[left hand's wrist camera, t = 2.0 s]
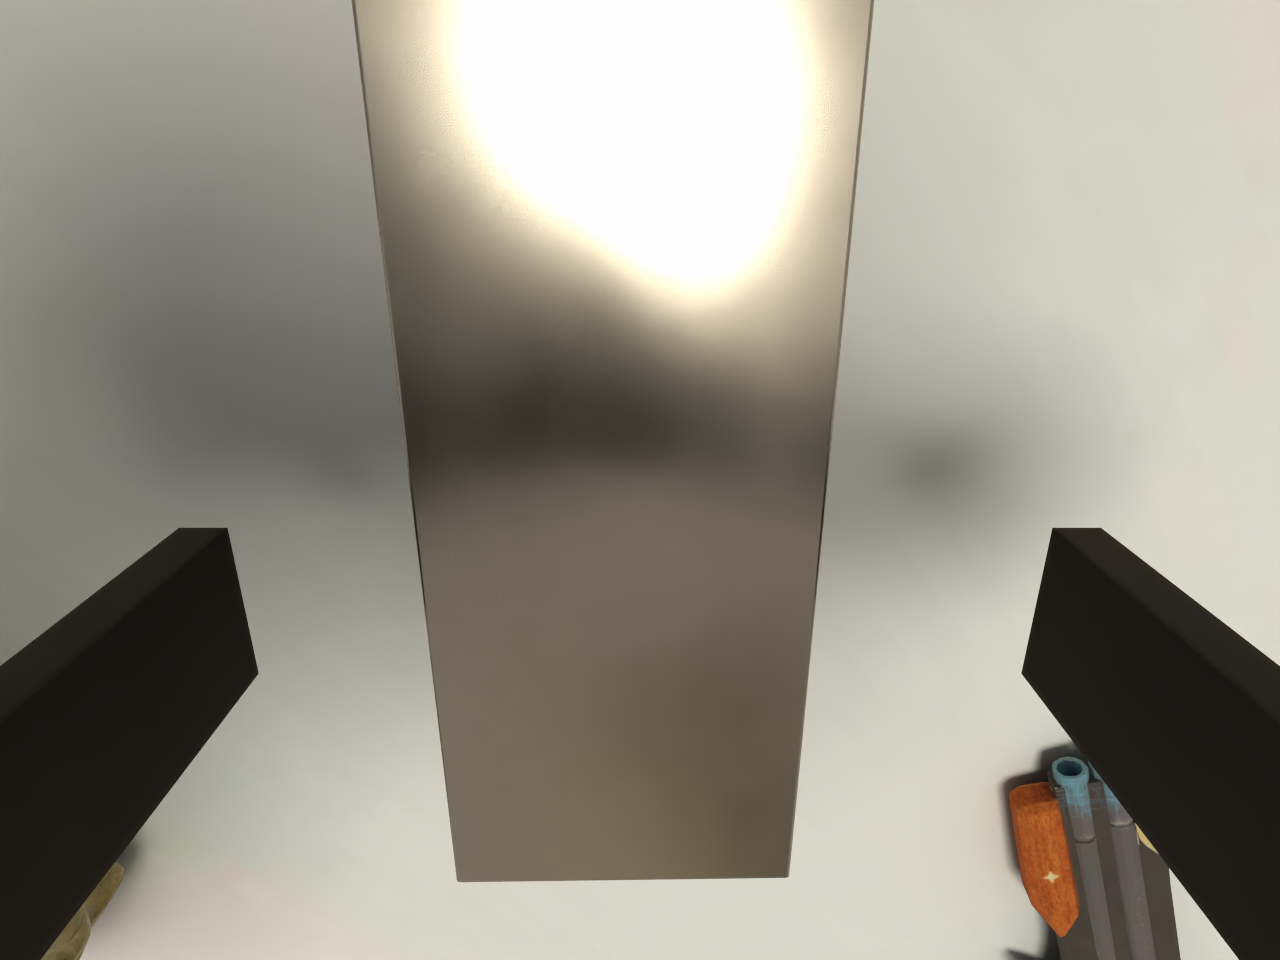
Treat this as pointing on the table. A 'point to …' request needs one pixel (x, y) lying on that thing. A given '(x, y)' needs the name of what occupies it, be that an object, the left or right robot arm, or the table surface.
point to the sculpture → (85, 918)
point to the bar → (617, 407)
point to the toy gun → (1092, 869)
